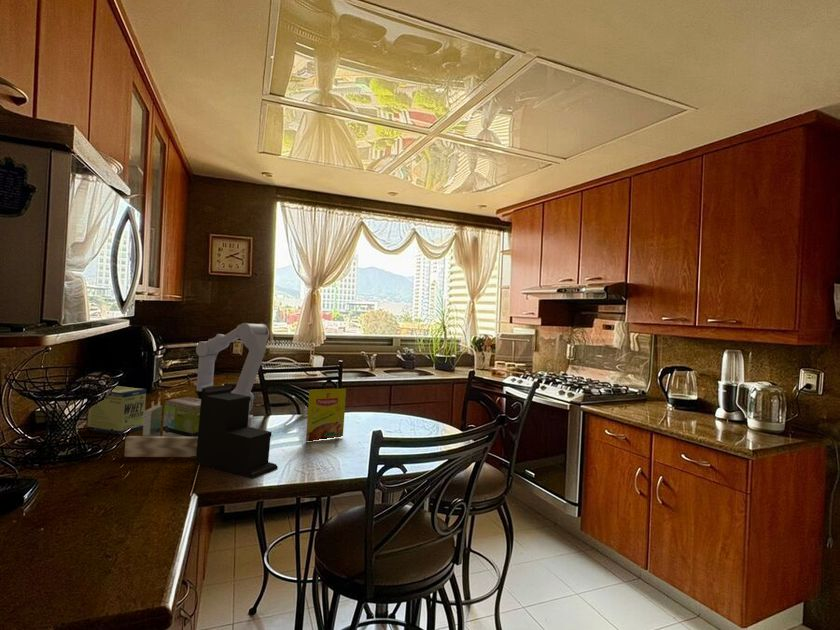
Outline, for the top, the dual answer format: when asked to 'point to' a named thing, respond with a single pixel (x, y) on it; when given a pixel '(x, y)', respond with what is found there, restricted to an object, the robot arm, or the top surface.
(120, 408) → the protein box
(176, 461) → the top surface
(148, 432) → the small book
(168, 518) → the top surface
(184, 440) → the shelf wall
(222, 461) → the black stepped block
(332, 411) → the food package
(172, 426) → the tea box
